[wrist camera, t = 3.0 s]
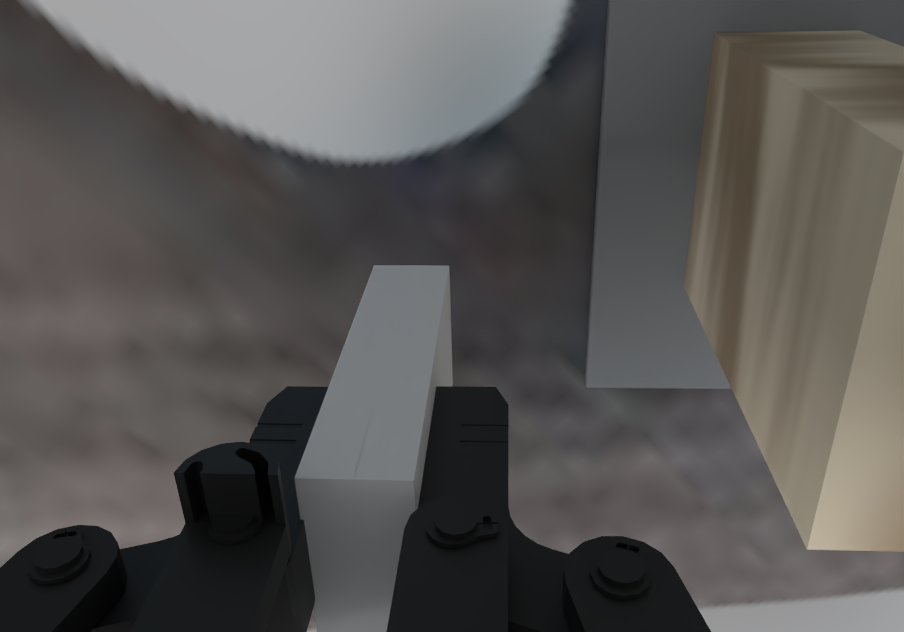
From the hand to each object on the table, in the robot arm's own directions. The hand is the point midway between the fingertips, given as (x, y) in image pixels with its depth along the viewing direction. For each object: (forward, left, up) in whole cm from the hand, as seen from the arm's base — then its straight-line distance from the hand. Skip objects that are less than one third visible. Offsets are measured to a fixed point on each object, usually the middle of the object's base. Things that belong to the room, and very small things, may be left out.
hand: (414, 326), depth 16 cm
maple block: (+10, 0, -10) cm, 14 cm away
